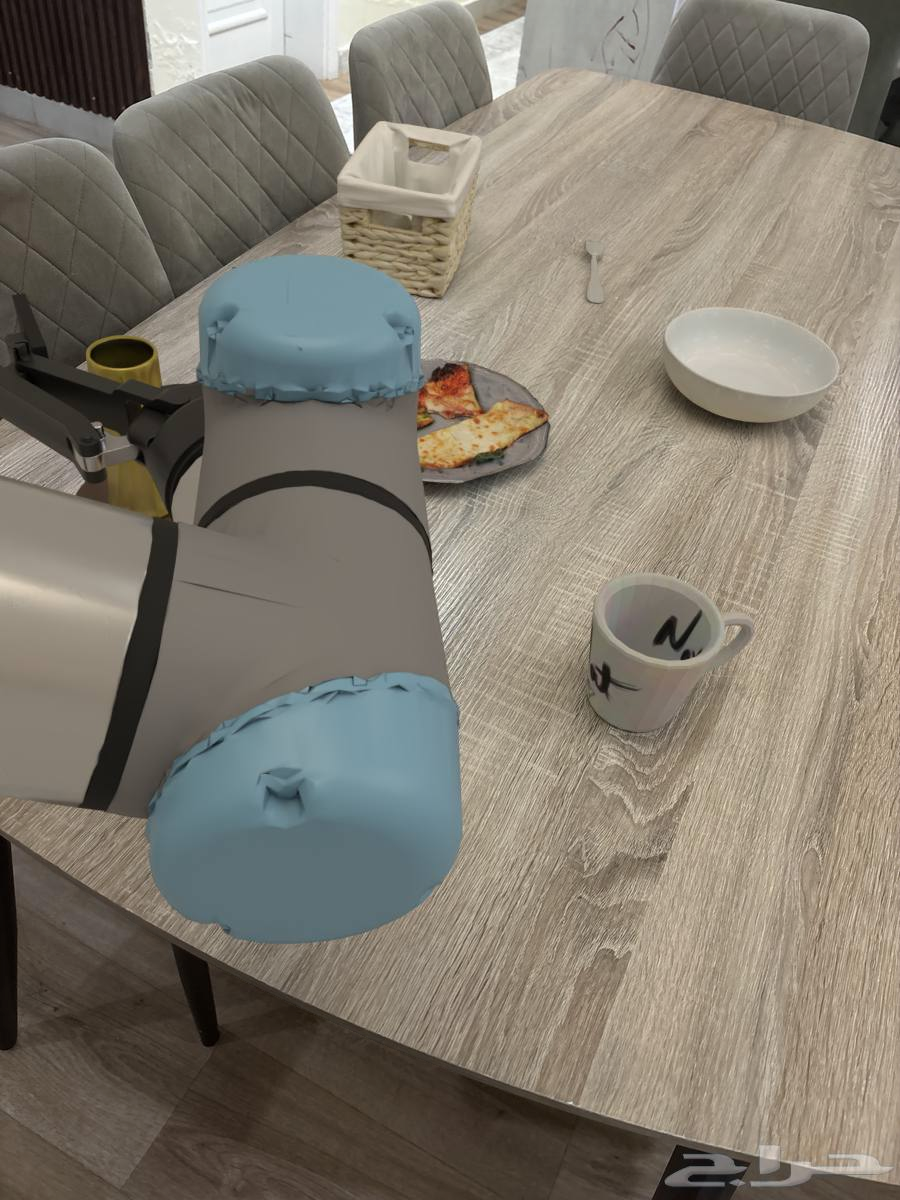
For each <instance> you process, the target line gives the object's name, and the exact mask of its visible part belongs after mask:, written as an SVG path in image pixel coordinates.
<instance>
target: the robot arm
mask: <svg viewBox="0 0 900 1200" xmlns="http://www.w3.org/2000/svg"><path fill="white" fill-rule="evenodd" d="M11 297H12V301H13V307H14V310H15V314H16V318H17V322H18V326H19V330H20V332H16V333H8V334H6V335H5V338H4V342H5V345H6V350H7V354H8V357H9V358H8V359H9V360H10V364H8V365H7V366H3V365H2V364H0V418H2V419H3V420H5V421H6V422H8V423H9V424H11V425H13V426H14V427H16V428H17V429H19V430H21V431H22V432H23V433H25V434H27V435H29V436H30V437H32V439H33V438H34V439H35V440H36V441H38V442H40V443H41V444H43V445H45V446H46V447H48V448H49V449H50V450H53V451H54V452H55V453H57V454H59V455H60V456H62V457H63V458H65V459H67V460H68V461H70V462H71V463H72V464H73V465H74V466H75V468H76V470H77V471H78V474H79V475H80V477H81V478H82V479H83V481H84V482H85V481H86V482H87V483H90V484H97V483H101V482H103V481H105V480H106V479H107V471H106V467H108V466H112V465H116V464H119V463H123V462H127V461H131V460H134V461H135V462H137V463H138V464H140V465H142V466H144V467H145V468H146V469H147V470H148V471H149V473H150V475H151V477H152V479H153V481H154V484H155V486H156V488H157V490H158V492H159V494H160V497H161V499H162V501H163V503H164V505H165V507H166V510H167V512H168V514H169V516H170V518H171V519H172V521H169V520H166V519H162V518H158V517H154V516H151V515H147V514H143V513H140V512H136V511H132V510H128V509H125V508H121V507H117V506H114V505H110V504H106V503H102V502H99V501H95V500H91V499H88V498H84V497H80V496H76V494H73V493H68V492H65V491H62V490H57V489H55V488H50V487H47V486H43V485H39V484H35V483H31V482H28V481H24V480H20V479H17V478H12V477H10V476H5V475H3V474H0V797H1V798H7V799H8V798H9V799H13V800H14V799H15V800H20V801H21V800H22V801H28V802H35V803H40V804H41V803H43V804H48V805H55V806H63V807H68V808H75V809H84V810H92V811H100V812H103V813H108V814H113V815H116V816H122V817H126V818H127V817H128V818H133V819H143V820H147V821H146V824H145V828H144V835H145V837H146V839H147V842H148V844H149V852H148V860H149V866H150V867H149V868H150V875H151V878H152V880H153V882H154V885H155V887H156V889H157V891H158V892H159V893H160V894H161V896H162V897H163V898H164V899H165V901H166V903H168V904H169V905H170V907H171V908H172V910H174V911H176V912H177V913H178V914H179V915H180V916H182V917H184V918H185V919H186V920H188V921H191V922H193V923H198V924H201V925H219V926H220V928H221V929H222V931H223V933H224V934H226V935H228V936H230V937H232V938H233V939H237V940H240V941H241V940H242V941H246V942H253V943H261V944H275V945H298V944H311V943H323V942H330V941H331V942H332V941H337V940H342V939H346V938H350V937H355V936H359V935H362V934H365V933H368V932H372V931H375V930H377V929H378V928H379V929H380V928H381V927H383V926H386V925H388V924H390V923H393V922H394V921H396V920H398V919H402V918H403V917H404V916H406V915H407V914H409V913H410V912H411V911H413V910H415V909H416V908H418V907H419V906H421V905H422V904H423V903H424V902H425V901H426V900H427V899H428V898H429V897H430V895H431V894H432V893H433V892H434V890H435V889H436V888H437V886H439V885H442V884H443V882H444V880H445V878H446V877H447V876H448V875H449V874H450V872H451V871H452V869H453V867H454V866H455V863H456V862H457V859H458V857H459V853H460V852H459V851H460V847H461V844H462V840H463V833H464V831H463V802H462V800H463V799H462V779H461V756H460V755H461V753H460V732H459V731H460V729H461V722H460V715H461V710H460V708H459V705H458V703H457V700H456V699H455V697H454V695H453V693H452V688H451V682H450V677H449V670H448V664H447V659H446V651H445V646H444V640H443V633H442V628H441V622H440V615H439V608H438V603H437V597H436V596H437V595H436V591H435V586H434V585H435V584H434V568H433V549H432V542H431V534H430V525H429V518H428V510H427V502H426V496H425V488H424V481H423V480H422V473H421V467H420V460H419V452H418V444H417V406H418V397H419V389H421V388H422V387H423V385H424V373H423V371H422V369H421V367H420V359H422V358H421V356H422V355H421V352H422V316H421V313H420V309H419V307H418V305H417V302H416V301H415V299H414V297H413V296H412V294H409V292H408V291H407V290H406V289H405V288H404V287H403V286H402V285H401V284H400V283H399V282H398V281H396V280H395V279H393V278H392V277H390V276H389V275H387V274H385V273H383V272H381V271H379V270H377V269H375V268H373V267H370V266H368V265H365V264H362V263H359V262H356V261H352V260H348V259H344V258H343V257H339V256H333V255H325V254H324V255H322V254H307V253H306V254H296V253H292V254H288V253H287V254H280V255H279V254H278V255H271V256H267V257H261V258H258V259H254V260H251V261H248V262H245V263H243V264H240V265H237V266H232V268H231V269H230V270H229V269H228V271H226V272H224V273H223V274H221V275H220V276H219V277H217V278H216V279H215V280H214V281H213V282H212V283H211V284H210V285H209V287H208V288H207V289H206V291H205V292H204V294H203V296H202V299H201V300H200V304H199V307H198V312H197V313H198V315H197V317H198V342H199V361H198V364H197V365H196V368H195V377H196V380H195V381H193V382H188V383H171V384H166V385H162V386H160V388H158V387H155V386H152V385H149V384H146V383H143V382H140V381H137V380H134V379H128V380H127V381H125V382H124V383H120V382H117V381H114V380H111V379H108V378H105V377H102V376H99V375H96V374H93V373H90V372H88V370H84V369H80V368H77V367H74V366H72V365H69V364H65V363H63V362H60V361H56V360H53V359H51V358H50V357H49V352H48V348H47V345H46V342H45V339H44V337H43V334H42V332H41V329H40V327H39V325H38V323H37V320H36V317H35V315H34V312H33V309H32V307H31V305H30V302H29V300H28V297H27V295H26V293H25V292H24V293H16V294H12V295H11ZM141 405H144V406H143V407H142V409H141ZM103 427H105V428H107V429H110V430H113V431H116V432H118V433H119V434H120V436H115V435H112V434H111V433H109V432H108V431H105V430H104V428H103Z"/></svg>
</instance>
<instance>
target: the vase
mask: <svg viewBox="0 0 900 1200" xmlns="http://www.w3.org/2000/svg"><path fill="white" fill-rule="evenodd" d="M159 359H160V358H159V352H158V350H157V347H156V346H155V344H154V343H152V342H151V341H150V340H148V339H146V338H144V337H140V336H137V335H127V334H126V335H125V334H124V335H121V334H120V335H119V334H118V335H116V334H115V335H110V336H106V337H103V338H100V339H98V340H95V341H94V342H93V343H91V344H90V345H89V346H88V347H87V348H86V351H85V361H86V362H85V363H86V368H87V372H90V373H93V374H96V375H99V376H102V377H105V378H108V379H111V380H114V381H117V382H120V383H124V382H125V381H127V380H128V379H134V380H137V381H140V382H143V383H146V384H149V385H152V386H155V387H158V388H160V386H163V379H162V374H161V373H162V372H161V366H160V360H159ZM143 406H144V405H141V409H142V407H143ZM103 428H104V430H105V431H108V432H109V433H111V434H112V435H115V436H120V434H119V433H118V432H116V431H113V430H110V429H107V428H105V427H103ZM106 471H107V481H108V491H109V492H108V502H109V504H110V505H114V506H117V507H121V508H125V509H128V510H132V511H136V512H140V513H143V514H147V515H151V516H154V517H158V518H162V517H164V516H166V515H168V512H167V510H166V507H165V505H164V503H163V501H162V499H161V497H160V494H159V492H158V490H157V488H156V486H155V484H154V481H153V479H152V477H151V475H150V473H149V471H148V470H147V469H146V468H145V467H144V466H142V465H140V464H138V463H137V462H135V461H134V460H131V461H127V462H123V463H119V464H116V465H112V466H108V467H106Z"/></svg>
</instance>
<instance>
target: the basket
mask: <svg viewBox="0 0 900 1200" xmlns="http://www.w3.org/2000/svg"><path fill="white" fill-rule="evenodd" d="M410 147H413V148H416V147H417V148H420V149H428V150H430V151H431V150H434V151H435V152H438V151H439V152H447V153H448V164H447V165H436V164H430V163H424V162H419V161H413V160H410V158H409V153H410ZM483 152H484V142H483V140H482V139H481V137H480V136H478V135H476V134H475V135H474V134H473V135H471V134H466V133H463V132H456V131H450V130H445V129H438V128H433V127H426V126H420V125H415V124H409V123H397V122H391V121H385V120H384V121H383V120H379V121H378V122H376V123H375V124H374V126H372V128H371V129H370V130H369V131H368V132H367V134H366V135H365V136H364V138H363V139H362V140H361V141H360V143H359V144H358V145H357V147H356V149H355V150H354V152H353V153H352V155H351V156H350V157H349V159H348V160H347V161H346V162H345V164H344V166H343V167H342V168H341V170H340V172H339V174H338V175H337V178H336V181H337V186H336V190H337V193H336V204H337V209H338V213H339V216H338V217H339V218H338V219H339V222H340V225H339V227H340V238H341V245H340V246H341V254H342V258H344V259H348V260H352V261H356V262H359V263H362V264H365V265H368V266H370V267H373V268H375V269H377V270H379V271H381V272H383V273H385V274H387V275H389V276H390V277H392V278H393V279H395V280H396V281H398V282H399V283H400V284H401V285H402V286H403V287H404V288H405V289H406V290H407V291H408V292H409V294H410V295H419V296H420V297H426V298H442V297H444V296H445V294H446V291H447V290H448V288H449V286H450V283H451V282H452V280H453V278H454V273H455V274H456V272H457V270H458V269H459V268H458V266H459V265H460V263H461V259H462V256H463V255H464V250H465V248H466V245H467V241H468V239H469V235H470V234H469V232H470V228H471V227H470V226H471V222H472V219H471V218H472V213H473V212H474V211H473V209H474V205H473V204H475V202H474V200H475V197H476V189H475V188H476V185H477V181H478V178H479V173H478V172H480V168H481V162H482V160H483Z"/></svg>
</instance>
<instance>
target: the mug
mask: <svg viewBox="0 0 900 1200" xmlns="http://www.w3.org/2000/svg"><path fill="white" fill-rule="evenodd" d="M732 626H739V627H740V630H739V632H738V633H737V635H736V636H735V637H734V638H733V639H732V640H731V641H730V642H729V643H728V644H727V645H725V646H724V647H723V645H724V644H725V640H726V628H727V627H732ZM590 627H591V628H590V639H589V641H590V642H589V654H588V664H587V665H588V666H587V679H586V680H587V681H586V694H587V698H588V701H589V704H590V706H592V708H593V710H594V711H595V713H596V714H597V716H599V717H600V718H601V719H603V720H604V721H605V722H607V724H610V725H611V726H614V727H616V728H618V729H620V730H623V731H628V732H633V733H645V732H646V733H647V732H652V731H654V730H657V729H661V728H662V727H663V726H665V725H666V724H667V723H668V722H670V721H671V720H672V719H673V717H674V716H675V715H676V713H677V711H679V709H680V707H681V706H682V705H683V703H684V702H685V701H686V700H687V698H688V697H689V695H690V694H691V693H692V691H693V689H694V688H695V687H696V685H697V684H698V683H699V681H700V680H701V679H702V678H703V676H704V675H705V674H708V673H710V672H711V671H714V670H715V669H717V668H720V667H721V666H722V665H725V664H726V663H727V662H729V661H731V660H732V659H733V658H735V657H736V656H737V655H739V654H740V653H741V652H742V650H743V649H745V648H746V647H747V646H748V644H749V643H750V642H751V641H752V638H753V637H754V635H755V633H756V631H755V623H754V618H753V617H751V616H750V615H748V614H747V613H745V612H743V611H726V612H720V610H719V608H718V606H717V605H715V603H714V602H713V601H712V600H711V599H710V598H709V596H707V595H706V593H704V592H703V591H701V590H699V589H698V588H697V587H695V586H693V585H692V584H691V583H688V582H687V581H684V580H682V579H679V578H676V577H674V576H671V575H668V574H662V573H657V572H653V571H642V572H641V571H637V572H635V571H633V572H628V573H625V574H621V575H618V576H615V577H613V578H612V579H610V580H609V581H607V582H606V583H604V584H602V587H601V588H600V589H599V591H598V592H597V594H596V595H595V597H594V598H593V604H592V613H591V626H590Z"/></svg>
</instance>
